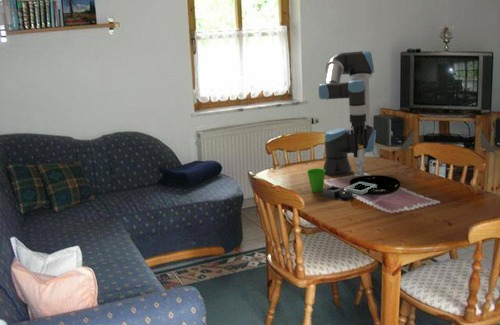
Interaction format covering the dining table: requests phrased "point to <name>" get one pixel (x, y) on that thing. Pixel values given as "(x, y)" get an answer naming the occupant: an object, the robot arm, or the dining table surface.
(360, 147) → the pin
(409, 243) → the dining table surface
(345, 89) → the robot arm
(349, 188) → the tray
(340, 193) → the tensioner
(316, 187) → the cup
